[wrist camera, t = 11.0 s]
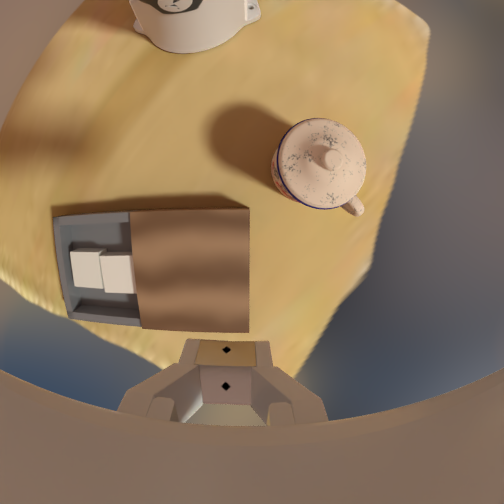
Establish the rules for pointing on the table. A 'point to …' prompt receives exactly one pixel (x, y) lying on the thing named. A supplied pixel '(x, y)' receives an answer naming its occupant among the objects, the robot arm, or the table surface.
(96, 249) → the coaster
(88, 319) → the tray
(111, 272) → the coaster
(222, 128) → the table surface
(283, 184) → the teacup with lid
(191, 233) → the walnut board
